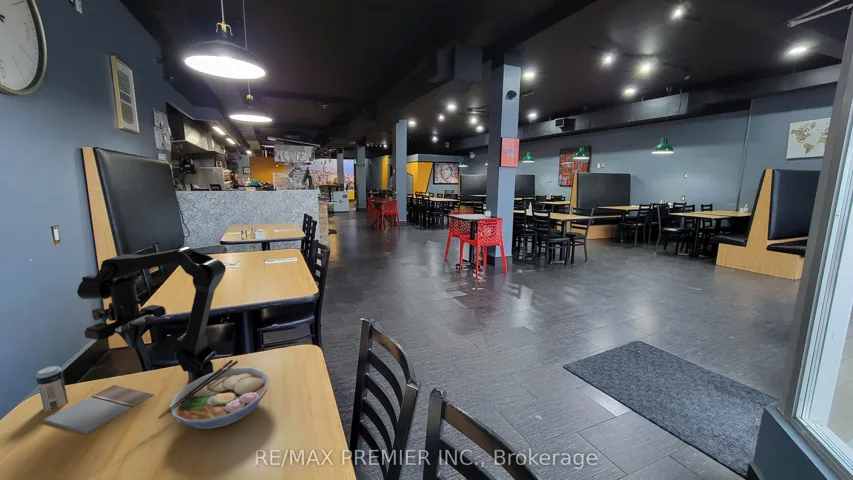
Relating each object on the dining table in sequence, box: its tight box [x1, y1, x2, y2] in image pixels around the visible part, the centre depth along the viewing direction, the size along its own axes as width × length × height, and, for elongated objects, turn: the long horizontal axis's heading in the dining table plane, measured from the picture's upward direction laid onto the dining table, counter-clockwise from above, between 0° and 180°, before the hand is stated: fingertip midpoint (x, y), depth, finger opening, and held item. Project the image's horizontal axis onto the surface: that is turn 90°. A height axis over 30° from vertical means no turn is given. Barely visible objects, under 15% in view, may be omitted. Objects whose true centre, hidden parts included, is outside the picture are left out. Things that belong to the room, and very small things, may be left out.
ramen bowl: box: [157, 359, 270, 429], centre depth 93 cm, size 25×23×8 cm
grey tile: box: [42, 397, 132, 435], centre depth 92 cm, size 16×10×1 cm, turn 74°
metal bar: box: [91, 384, 155, 408], centre depth 100 cm, size 16×6×2 cm, turn 74°
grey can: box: [35, 365, 69, 412], centre depth 94 cm, size 5×5×12 cm
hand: (132, 347), depth 105 cm, fingers closed
